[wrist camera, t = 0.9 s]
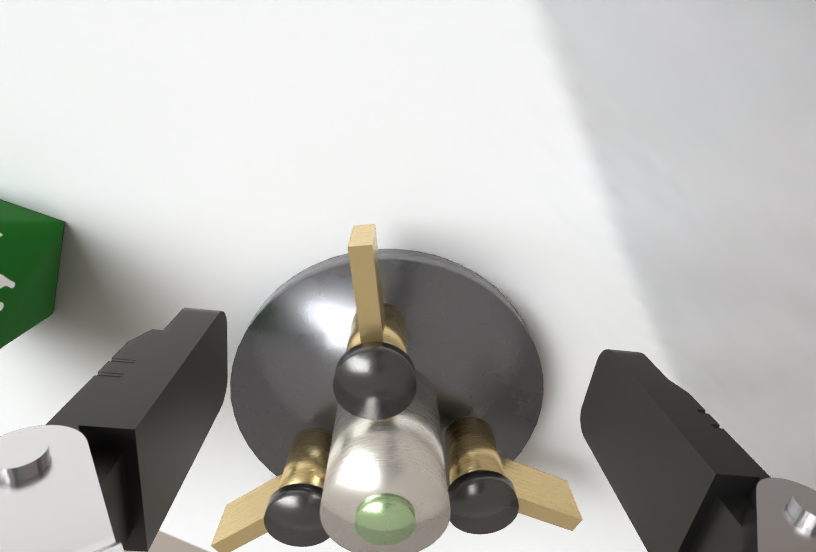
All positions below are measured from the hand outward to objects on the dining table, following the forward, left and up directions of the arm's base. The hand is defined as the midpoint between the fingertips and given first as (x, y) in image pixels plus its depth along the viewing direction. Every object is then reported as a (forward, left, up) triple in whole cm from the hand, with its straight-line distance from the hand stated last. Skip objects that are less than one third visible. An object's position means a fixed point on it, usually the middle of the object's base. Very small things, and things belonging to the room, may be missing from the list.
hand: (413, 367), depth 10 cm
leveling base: (+10, +13, -20) cm, 26 cm away
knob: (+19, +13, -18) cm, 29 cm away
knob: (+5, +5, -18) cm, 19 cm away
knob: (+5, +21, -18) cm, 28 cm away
